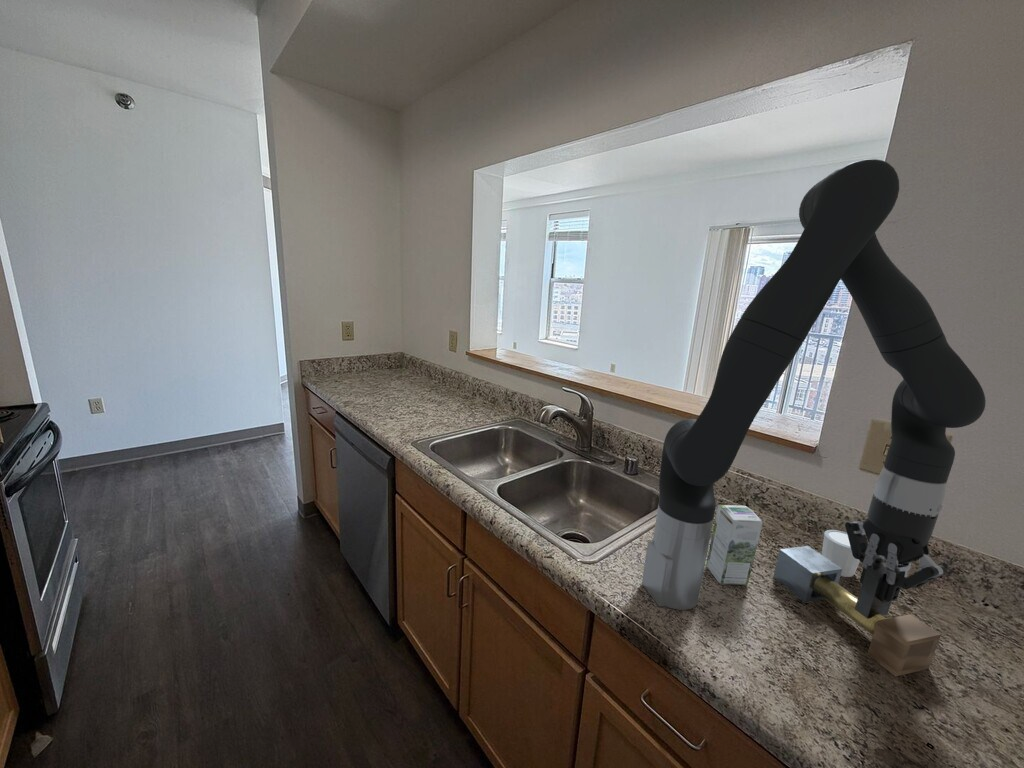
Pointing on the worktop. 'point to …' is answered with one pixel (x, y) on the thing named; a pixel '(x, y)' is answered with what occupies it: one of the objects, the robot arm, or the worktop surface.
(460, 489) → the worktop surface
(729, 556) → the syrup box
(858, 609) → the slide bolt
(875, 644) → the socket block
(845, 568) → the shot glass
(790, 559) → the block
